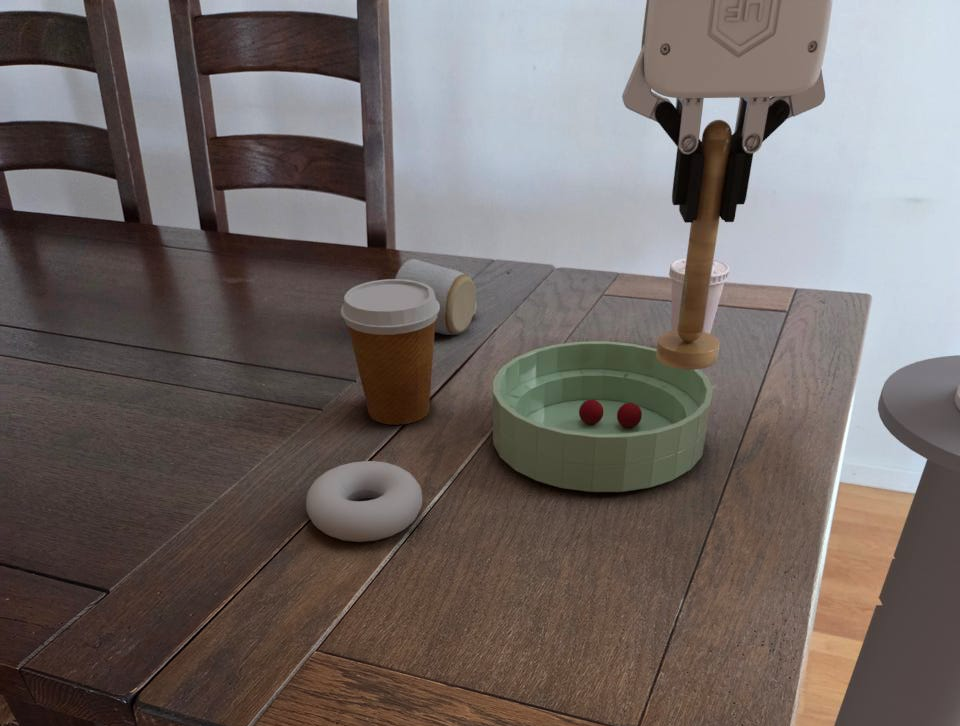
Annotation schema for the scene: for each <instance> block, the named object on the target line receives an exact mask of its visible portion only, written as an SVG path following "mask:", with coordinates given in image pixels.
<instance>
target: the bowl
mask: <svg viewBox="0 0 960 726" xmlns="http://www.w3.org/2000/svg"><path fill="white" fill-rule="evenodd" d="M656 351H657V348H655V347H649V346H645V345H640V344H636V343H628V342H618V341H606V340H604V341H603V340H602V341H601V340H600V341H596V340H595V341H594V340H593V341H574V342H567V343H557V344H552V345H548V346H544V347H540V348H539V347H538V348H536V349H533V350H530V351H528V352H525V353H523V354H520V355H518V356H516V357H514V358H512V359H511V360H509V362H507V363H506V364H504V365H503V366H502V367H500V369H499V370H498V371H497V373H496V375H495V376H494V378H493V380H492V444H493V446H494V448H495V450H496V452H497V454H498V456H499V457H500V459H501V460H502V461H504V462H505V463H506V464H507V465H509V467H511V468H512V469H513V470H515V471H516V472H517V473H520V474H522V475H524V476H526V477H528V478H530V479H532V480H533V481H535V482H539V483H543V484H546V485H549V486H553V487H556V488H559V489H566V490H573V491H580V492H581V491H582V492H588V493H624V492H631V491H636V490H643V489H650V488H654V487H656V486H660V485H662V484H665V483H668V482H671V481H674V480H676V479H678V478H679V477H680V476H682V475H684V474H685V473H688V472H689V471H690V470H692V469H693V468H694V467H695V466H696V464H697V463H698V462H699V460H700V459H701V458H702V457H703V453H704V449H705V444H706V438H707V433H708V425H709V419H710V415H711V414H710V413H711V408H712V401H713V396H714V389H713V386H712V384H711V382H710V381H711V380H710V379H709V377H708V376H707V375H706V373H704V372H703V371H702V370H701V369H693V370H688V369H678V368H673V367H670V366H667V365H665V364H663V363H661V362H660V361H659V360H658V359H657V357H656ZM587 400H596V401H598V402H599V403H600V404H601V405H602V407H603V417H602V419H601V420H600V421H599V422H598V423H596V424H593V425H589V424H586V423H584V422H583V421H582V420H581V418H580V416H579V409H580V406H581V405H582V404H583V403H584V402H585V401H587ZM626 403H634V404H636V405H637V406H638V407H639V408H640V409H641V412H642V418H641V421H640V422H639V424H638V425H637V426H635V427H633V428H625V427H623V426H621V425H620V424H619V422H618V420H617V412H618V410H619V408H620V407H621V406H622V405H624V404H626Z"/></svg>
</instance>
